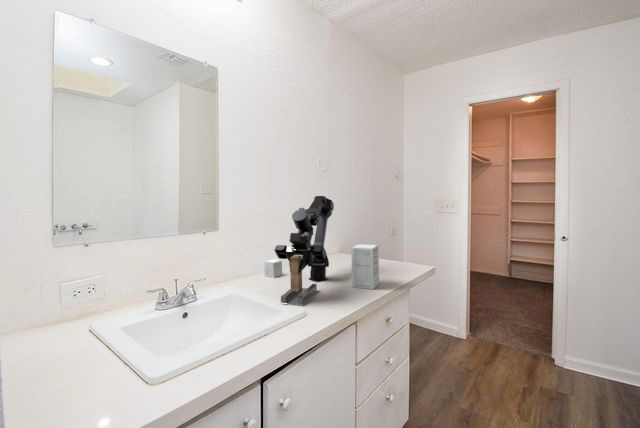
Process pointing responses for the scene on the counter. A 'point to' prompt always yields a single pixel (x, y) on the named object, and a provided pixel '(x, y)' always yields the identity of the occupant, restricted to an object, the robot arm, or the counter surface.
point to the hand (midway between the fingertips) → (294, 272)
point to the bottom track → (299, 295)
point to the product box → (273, 268)
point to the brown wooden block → (295, 273)
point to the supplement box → (365, 266)
